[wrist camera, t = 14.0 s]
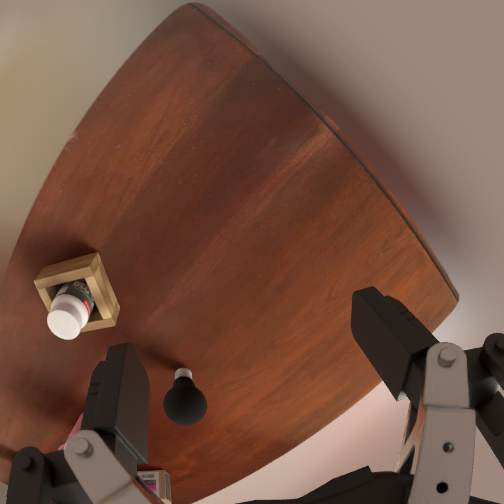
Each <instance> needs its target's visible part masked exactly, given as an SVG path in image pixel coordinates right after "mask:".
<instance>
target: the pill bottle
mask: <svg viewBox="0 0 504 504" xmlns="http://www.w3.org/2000/svg"><path fill="white" fill-rule="evenodd" d="M94 304H95V301H94V298H93V296H92V294H91V292H90V289H89V287H88V285H87V282H86V280H85V278H81V279H77V280H73V281H69V282H65V283H64V284H63V286H62V287H61V289H60V290H59V292H58V294H57V295H56V297H55V298H54V300H53V302H52V305H51V310H50V313H49V315H48V317H47V323H48V326H49V328H50V330H51V331H52V332H53V333H54V334H55V335H56V336H58V337H60V338H62V339H74V338H75V337H77V336H78V334H79V332H80V330H81V328H83V327H84V326H85V325H86V323H87V321H88V319H89V316H90V314H91V311H92V309H93V306H94Z"/></svg>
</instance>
